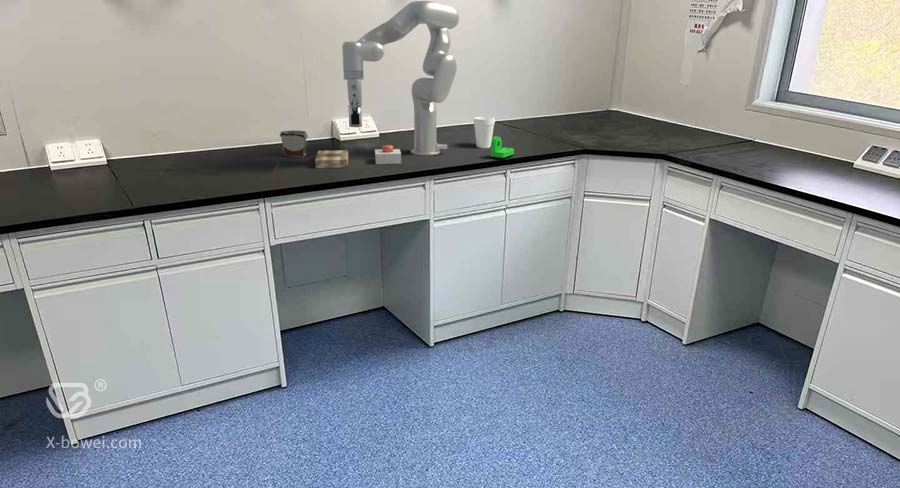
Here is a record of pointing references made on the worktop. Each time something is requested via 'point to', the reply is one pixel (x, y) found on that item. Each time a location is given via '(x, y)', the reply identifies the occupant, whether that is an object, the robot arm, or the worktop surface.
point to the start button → (387, 148)
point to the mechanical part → (497, 150)
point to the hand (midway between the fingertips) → (355, 123)
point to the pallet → (332, 159)
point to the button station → (388, 157)
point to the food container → (294, 143)
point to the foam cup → (484, 131)
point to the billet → (359, 116)
